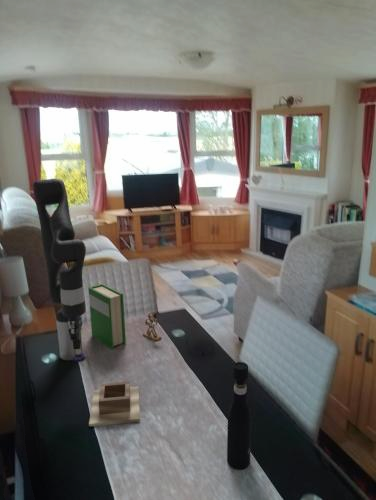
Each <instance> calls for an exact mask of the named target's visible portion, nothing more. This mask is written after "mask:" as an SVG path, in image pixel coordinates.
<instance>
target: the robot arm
mask: <svg viewBox="0 0 376 500" xmlns="http://www.w3.org/2000/svg"><path fill="white" fill-rule="evenodd" d="M32 185H33V186H32V189H33V190H32V191H33V197H34V200H35V206H36V210H37V215H38V219H39V220H38V221H39V226H40V230H41V231H40V232H41V233H40V234H41V240H42V241H41V242H42V248H43V254H44V257H45V259H44V260H45V263H46V270H47V281H48V290H49V291H48V292H49V298H50V301H51V302H52V304H56V305H57V304H59V305H60V304H61V308H60V309H59V310H57V312H56V314H55V320H56V329H57V330H56V331H57V339H58V347H59V357H60V359H61V360H64V361H73V357H74V355H75V354H76V349H80V346H81V353H83V343H82V329H83V328H82V326H83V325H82V326H80V324H81V321H83V319H82V318H83V316H82V315H84V314H85V313H86V311H87V307H86V296H85V290H84V281H83V267H84V263H85V258H86V253H87V247H86V244H85V243H84V242H83V240H82V239H80V238H79V239H77V238H76V239H75V237H76V233H75V229H74V227H73V223H72V220H71V216H70V215H71V214H70V206H69V200H68V199H69V198H68V194H67V193H68V192H67V190H66V189H67V188H66V185H65V183H64V181H63V180H62V179H61V178H49V179H48V178H47V179H40V180H39V179H38V180H35V181H34V182H33V184H32ZM51 205H52V206H53V205H57V207H56V208H55V210H54V211H53V213H52V214H51V215H50V213H49V211H48V210H47V207H46V206H51ZM67 263H73V264H72V265H71V266H69V267H67V268H63V269H62V270H61V268H62V266H63V265H64V264H67ZM58 276H59V279H58ZM78 316H80V318H81V319H78ZM69 318H70V320H69ZM68 325H69V327H68ZM78 328H79V329H78Z"/></svg>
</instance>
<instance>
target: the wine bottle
mask: <svg viewBox="0 0 376 500" xmlns="http://www.w3.org/2000/svg"><path fill="white" fill-rule="evenodd" d="M232 371H233V374H232V375H233V379H235V383H234V386H233V391H232V401H231V403H230V406H229V409H228V414H227V434H226V436H227V440H226V441H227V442H226V443H227V444H226V447H227V448H226V462H227V465H228V466H229V467H231V468H232V469H234V470H237V471H242V470H245V469H247V468H249V466H250V464H251V445H252V444H251V443H252V414H251V407H250V405H249V403H248V402H249V401H248V391H247V384H246V380H248V379H249V365H248V364H247V363H246V362H242V361H240V362H239V361H237V362H235V363H234V364H233V369H232Z"/></svg>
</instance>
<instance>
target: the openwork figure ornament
mask: <svg viewBox="0 0 376 500" xmlns="http://www.w3.org/2000/svg"><path fill="white" fill-rule="evenodd" d="M147 317H148V319H146V320H145V326H148V328H147V331H146V332H144V333H142V336H143V337H145V338H146V337H147V339H149V340H151V341H153V342H155V341H156V342H158V341H160V340H161V339H162V336H160V335H158V334H157V332H156V329H155V326H157V325H158V323H159V321H158V319H157V318H155V315H154V313H152V312H151V313H148V316H147ZM148 321H149V322H148ZM150 329H151V330H150Z"/></svg>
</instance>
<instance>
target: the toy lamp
mask: <svg viewBox="0 0 376 500" xmlns="http://www.w3.org/2000/svg"><path fill="white" fill-rule="evenodd" d="M78 319H81V318H80V316H78ZM69 320H70V318H69ZM80 326H83V320H81V324H80ZM68 327H69V325H68ZM78 329H79V328H78ZM86 359H87V357H86V355H85V354H84V353H83V352H82V353H81V346H80V349H76V354H75V355H74V357H73V360H72V361H73V362H75V363H79V362H84V361H85V360H86Z"/></svg>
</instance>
